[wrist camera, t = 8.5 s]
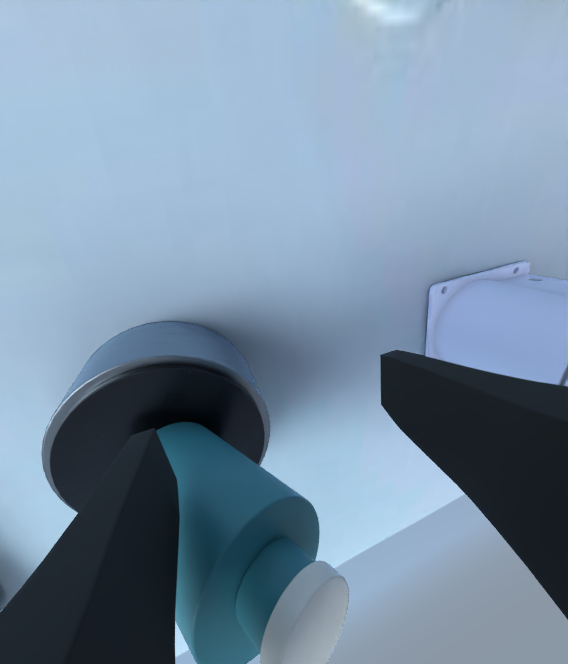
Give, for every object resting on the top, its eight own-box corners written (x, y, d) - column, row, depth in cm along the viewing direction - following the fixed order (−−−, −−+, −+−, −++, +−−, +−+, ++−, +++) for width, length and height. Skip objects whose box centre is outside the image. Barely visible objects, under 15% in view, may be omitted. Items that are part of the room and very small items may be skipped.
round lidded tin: (234, 302, 17) (253, 332, 13) (263, 432, 21) (285, 488, 17) (41, 348, 15) (-18, 404, 10) (115, 483, 19) (95, 565, 14)
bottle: (202, 402, 13) (359, 496, 7) (227, 475, 15) (376, 605, 9) (97, 464, 11) (207, 693, 5) (140, 546, 12) (268, 804, 6)
